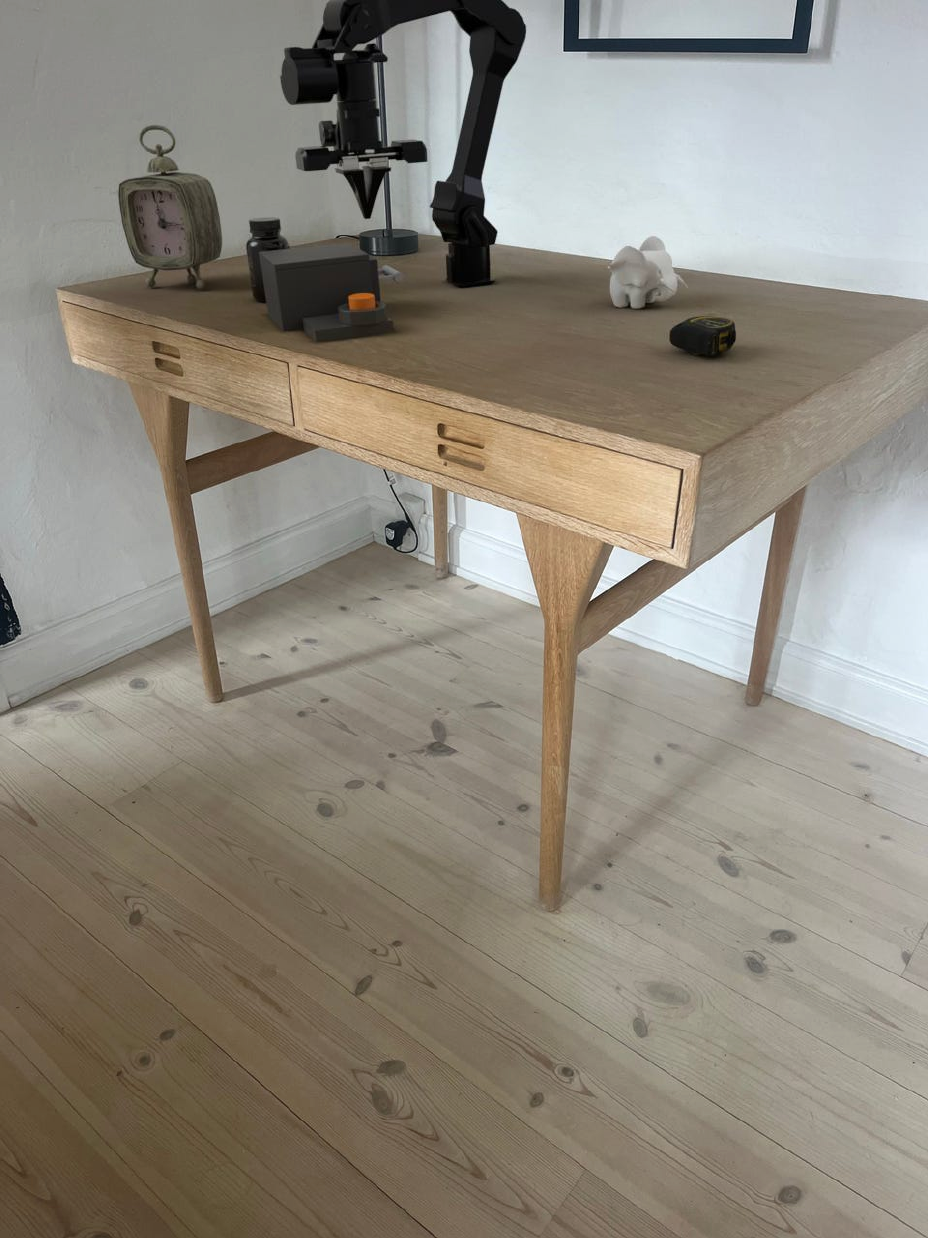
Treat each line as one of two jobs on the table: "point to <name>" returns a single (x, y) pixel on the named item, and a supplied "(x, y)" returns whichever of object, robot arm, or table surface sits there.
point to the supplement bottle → (262, 249)
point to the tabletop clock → (170, 217)
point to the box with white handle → (386, 270)
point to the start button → (361, 301)
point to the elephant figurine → (642, 275)
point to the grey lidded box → (312, 281)
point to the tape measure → (704, 335)
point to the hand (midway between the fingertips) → (367, 218)
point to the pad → (349, 323)
